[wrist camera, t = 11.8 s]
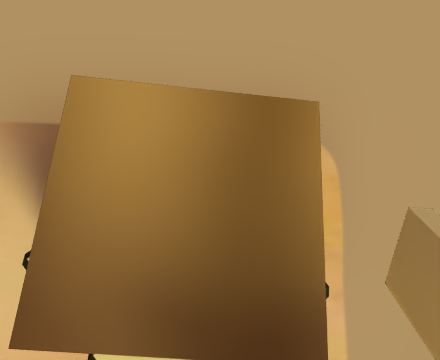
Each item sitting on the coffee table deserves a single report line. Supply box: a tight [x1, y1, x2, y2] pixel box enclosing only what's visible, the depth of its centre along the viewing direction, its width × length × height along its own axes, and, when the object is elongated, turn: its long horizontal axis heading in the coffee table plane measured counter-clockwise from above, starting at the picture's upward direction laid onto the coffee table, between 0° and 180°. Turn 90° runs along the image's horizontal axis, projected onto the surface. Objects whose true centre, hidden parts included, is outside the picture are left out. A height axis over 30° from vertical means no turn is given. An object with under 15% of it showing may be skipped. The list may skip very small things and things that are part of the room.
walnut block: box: [9, 75, 328, 360], centre depth 14 cm, size 6×6×10 cm
